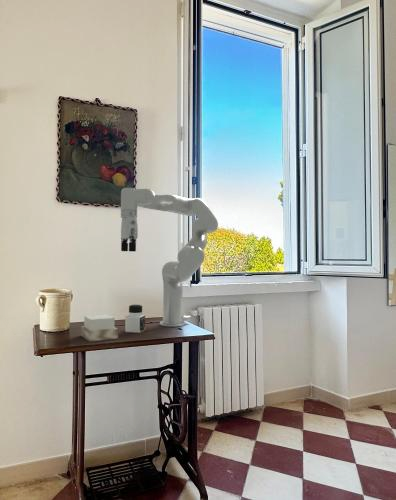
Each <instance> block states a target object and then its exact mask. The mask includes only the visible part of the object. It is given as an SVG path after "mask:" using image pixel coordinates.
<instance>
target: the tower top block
mask: <svg viewBox="0 0 396 500" xmlns="http://www.w3.org/2000/svg"><path fill="white" fill-rule="evenodd" d="M83 317H84V321H83V324H84V325H83V326H84V327H86V328H87V329H89V330H90V331H95V330H105V329H114V327H115V323H116V322H115V320H116V319H115V317H113V316H111V315H110V314H96V315H94V314H93V315H84V316H83Z"/></svg>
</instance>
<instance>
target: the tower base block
mask: <svg viewBox="0 0 396 500" xmlns="http://www.w3.org/2000/svg"><path fill="white" fill-rule="evenodd" d="M81 337H83V338H84V339H85V340H87V341H88V342H97V341H106V340H114V339H115V340H116V339H119V328H117V327H116V326H114V329H105V330H95V331H90V330H89V329H87V328H86V327H84V325H82V326H81Z"/></svg>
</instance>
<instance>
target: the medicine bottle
mask: <svg viewBox="0 0 396 500" xmlns="http://www.w3.org/2000/svg"><path fill="white" fill-rule="evenodd" d="M124 318H125V322H124V323H125V324H124V325H125V327H124V328H125V329H124V332H125V333H136V334H140V333H142V332H144V331H145V330H146V315H145V314H143V305H142V304H131V305H129V306H128V315H126V316H125V317H124Z"/></svg>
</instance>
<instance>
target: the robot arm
mask: <svg viewBox="0 0 396 500" xmlns="http://www.w3.org/2000/svg"><path fill="white" fill-rule="evenodd" d="M138 208H143V209H148V210H153V211H154V210H155V211H161V212H168V213H173V214H178V215H182V216H187V217H193V216H196V217H197V218H195V219H194V220H193V222H192V224H191V225H192V227H191V228H192V237H191V238H190V240H188V242H187V243H186V244H184V246H183V247H182V248H181V249H180V250H179V252H178V253H177V261H173V260H172V261H167V262H166V263H164V265H162V269H161V275H162V283H163V284H162V285H163V290H162V291H163V298H162V301H163V302H162V303H163V304H162V320H161V321H160V322H159V325H160V326H162V327H166V328H167V327H168V328H169V327H170V328H173V327H176V328H177V327H182V326H185V325H186V322H185V321H189V320H191V319H192V318H191V316H190V315H184V314H183V283H184V282H186V281H188V280H189V279H190V278H191V277H192V276H193V275H194V274H195V273H196V272H197V270H199V268H200V267H201V266H202V265H203V263H204V261H205V257H206V256H205V252H204V249H205V248H206V246H207V243H208V237H207V236H208V235H207V234H211V233H215V232H216V231H217V230H218V228H219V227H218V226H219V223H218V219H217V217H216V216H215V214H214V213H213V211H212V210H211V207H209V206H208V204H207V203H206V202H205V201H204V200H203V199H202V198H200V197H196V198H195V197H194V198H187V197H182V196H179V195H174V194H155V192H154V191H153V190H152V189H149V188H134V187H124V188H122V189H121V192H120V218H121V225H120V240H121V241H120V246H121V247H120V249H121V252H136V251H137V239H138V235H139V233H138V231H139V230H138ZM128 241H129V242H128ZM182 282H183V283H182Z"/></svg>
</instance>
